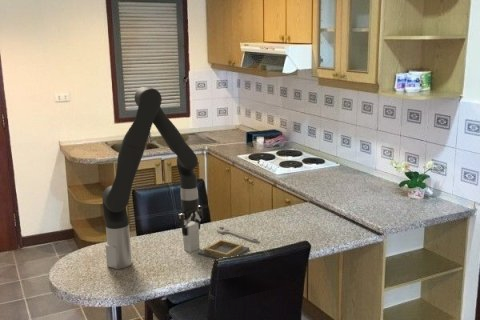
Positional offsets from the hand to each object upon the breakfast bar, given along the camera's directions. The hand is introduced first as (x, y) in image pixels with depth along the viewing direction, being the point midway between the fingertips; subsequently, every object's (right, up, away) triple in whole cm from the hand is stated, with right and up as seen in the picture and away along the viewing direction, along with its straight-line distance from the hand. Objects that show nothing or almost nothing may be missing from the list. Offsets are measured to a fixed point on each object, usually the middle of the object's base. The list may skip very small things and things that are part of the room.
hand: (191, 232), depth 228 cm
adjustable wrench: (+19, -5, +16) cm, 26 cm away
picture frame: (+14, -8, -2) cm, 17 cm away
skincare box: (0, -8, +2) cm, 8 cm away
